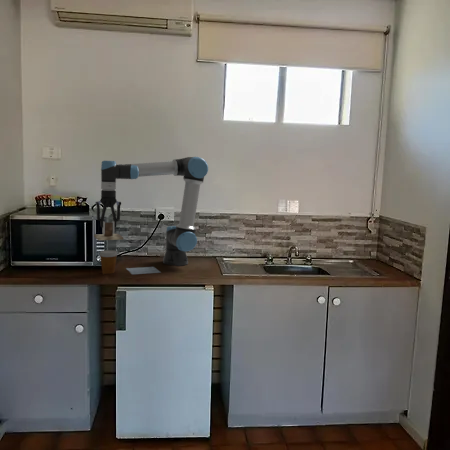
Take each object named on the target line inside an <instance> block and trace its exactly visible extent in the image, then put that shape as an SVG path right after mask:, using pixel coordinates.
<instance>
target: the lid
mask: <svg viewBox="0 0 450 450" xmlns="http://www.w3.org/2000/svg"><path fill="white" fill-rule="evenodd" d="M93 238H95V239H96V240H97V241H114V240H117V241H119V240H122V241H123V240H124V236H122V235H121V234H119V233H114V234H113V223H112V221H111V222H109V221H108V222H106V221H105V234H103V233H102V234H101V233H100V234H99V233H98V234H96V233H95V234H93Z"/></svg>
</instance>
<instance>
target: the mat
mask: <svg viewBox="0 0 450 450" xmlns="http://www.w3.org/2000/svg"><path fill="white" fill-rule="evenodd" d="M125 269H126V270H127V271H128V272H129V273H130V274H131V275H142V274H144V275H145V274H159V273H160V274H161V273H162V271H160V270H159V269H157V268H156V267H155V266H145V267H144V266H143V267H130V268H129V267H126V268H125Z"/></svg>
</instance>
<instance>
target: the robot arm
mask: <svg viewBox="0 0 450 450" xmlns="http://www.w3.org/2000/svg"><path fill="white" fill-rule="evenodd" d="M100 165H101V166H100V167H101V168H100V172H101V174H100V175H101V176H100V177H101V181H100V182H101V185H100V189H101V191H100V193H101V195H100V199H99V200H98V201H95V206H96V220H97V221H99V222H100V228H101V229H102V234H105V223H106V221H104V220H105V215H106V211H107V208H110V212H111V215H112V219H113V220H112V221H111V223H113V234H115V228H117V221H120V220H121V205H122V202H121V201H119V200H117V197H116V196H117V192H116V190H117V189H116V188H117V186H116V185H117V184H116V183H117V180H119V179H121V180H137V179H138V178H139V177H142V178H143V177H154V176H155V177H157V176H167V175H169V176H170V175H173V176H175V177H179V176H181V177H183V181H184V183H185V184H184V190H183V194H182V202H181V209H180V215H179V223H178V224H177V225H169V226H167V227H166V231H165V235H166V237H165V239H166V241H165V242H166V243H165V252H164V256H163V258H162V263H163V264H164V265H167V266H168V265H169V266H176V267H181V266H186V265H188V264H189V260H188V256H187V252H190V251H192V250H193V249H195V248H196V246H197V244H198V238H197V236H196V232H197V228H196V227H195V223H196V222H195V221H196V214H197V207H198V200H199V194H200V188H201V185H202V184H203V183H204V179H205V177H206V176H207V174H208V173H209V165H208V163H207V161H206V160H205V159H204V158H202V157H200V156H187V157H183V158H175V159H172V160H171V161H158V162H157V161H155V162H143V163H127V164H117V161H116V160H102V161H101V164H100ZM101 205H102V206H103V207H102V213H101V207H100V206H101ZM115 205H116V212H115Z"/></svg>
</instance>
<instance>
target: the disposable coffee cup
mask: <svg viewBox="0 0 450 450" xmlns="http://www.w3.org/2000/svg"><path fill="white" fill-rule="evenodd" d="M117 256H118V251H116V250H112V249H111V250H110V249H107V250H100V251H99V257H100V266H101V272H102V275H107V274H109V275H111V274H114V273H115V271H116V265H117Z"/></svg>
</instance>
